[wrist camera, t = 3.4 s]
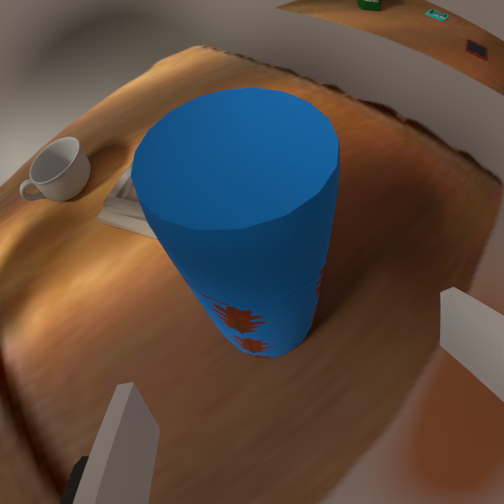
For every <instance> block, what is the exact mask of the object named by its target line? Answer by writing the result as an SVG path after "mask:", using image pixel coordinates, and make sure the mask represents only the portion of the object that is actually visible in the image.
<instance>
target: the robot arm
mask: <svg viewBox="0 0 504 504" xmlns="http://www.w3.org/2000/svg"><path fill="white" fill-rule="evenodd" d="M440 346H441V347H443V348H444V349H445V350H446V351H447V352H448V353H450V354H451V355H452V356H453V357H454V358H456V359H457V360H458V361H459V362H460V363H461V364H462V365H463V366H465V367H466V368H467V369H468V370H469V371H470V372H471V373H472V374H473V375H475V376H476V377H477V378H478V379H479V380H480V381H481V382H482V383H483V384H485V385H486V386H487V387H488V388H489V389H490V390H491V391H492V392H494V394H496V395H497V396H498V397H499V398H500V399H501V400H502V401H503V402H504V316H503V315H502V314H500V313H498V312H497V311H495V310H493V309H492V308H490V307H488V306H486V305H485V304H483V303H481V302H479V301H478V300H476V299H474V298H472V297H471V296H469V295H467V294H466V293H464V292H462V291H460V290H458V289H457V288H455V287H452V288H449V289H447V290H445V291H443V292H441V325H440ZM159 433H160V428H159V426H158V425H157V423H156V421H155V420H154V418H153V416H152V414H151V413H150V411H149V409H148V408H147V406H146V404H145V402H144V400H143V399H142V397H141V395H140V393H139V391H138V389H137V388H136V386H135V384H134V382H132V383H126V384H120V385H117V387H116V390H115V392H114V395H113V397H112V399H111V402H110V404H109V407H108V409H107V412H106V414H105V417H104V419H103V422H102V424H101V427H100V429H99V432H98V435H97V437H96V440H95V442H94V445H93V448H92V450H91V453H90V456H82V457H81V459H80V460H79V461H78V462H77V463H76V464H75V466H74V468H73V470H72V473H71V475H70V479H69V481H68V483H67V488H66V489H65V491H64V494H63V497H62V500H61V502H60V504H148V500H149V493H150V487H151V480H152V474H153V468H154V462H155V456H156V450H157V445H158V439H159Z"/></svg>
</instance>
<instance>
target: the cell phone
mask: <svg viewBox="0 0 504 504" xmlns="http://www.w3.org/2000/svg"><path fill="white" fill-rule="evenodd" d="M466 51H467V52H469V53H471V54H473V55H475V56H478V57H480V58H482V59H484V60H486V61H487V48H486V47H484V46H482V45H480V44H478V43H476V42H473V41H471V40H468V41H467V48H466Z"/></svg>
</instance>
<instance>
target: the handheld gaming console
mask: <svg viewBox="0 0 504 504" xmlns="http://www.w3.org/2000/svg"><path fill="white" fill-rule="evenodd" d="M432 11H435V12H438V13H440V14H439V15H438V14H436V13H433V12H432ZM441 14H443V15H445V17H444V16H441ZM425 15H427V16H430V17H433V18H436V19H438V20H441V21H445V20H446V19H447V18H448V17H449V15H447V14H444V13H441V12H439V11H436V10H433V9H431V10H429V11H428V12H426V13H425Z"/></svg>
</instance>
